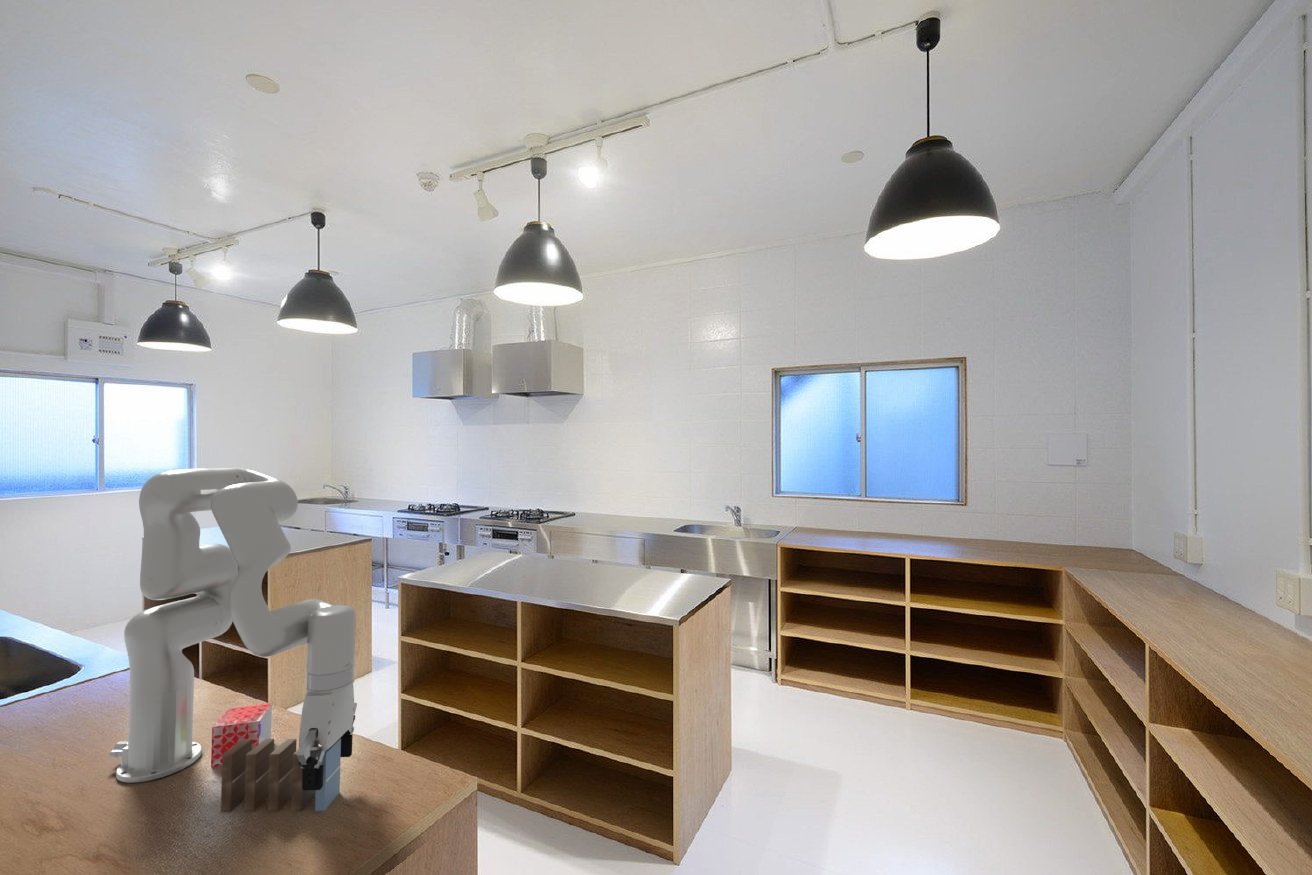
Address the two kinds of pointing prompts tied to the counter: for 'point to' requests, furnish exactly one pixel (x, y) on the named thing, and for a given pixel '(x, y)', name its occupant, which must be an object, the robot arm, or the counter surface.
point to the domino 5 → (329, 777)
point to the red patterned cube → (240, 729)
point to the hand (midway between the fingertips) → (328, 771)
